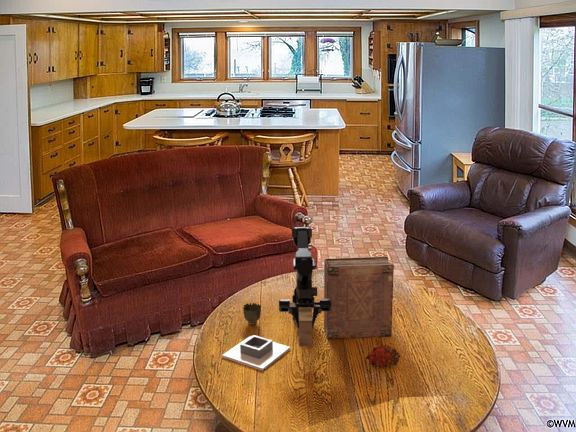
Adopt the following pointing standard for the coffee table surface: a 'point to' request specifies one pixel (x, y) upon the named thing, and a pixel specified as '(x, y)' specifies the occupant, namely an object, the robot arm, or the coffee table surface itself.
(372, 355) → the dragon fruit
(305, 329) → the walnut post
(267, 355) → the plate
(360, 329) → the book
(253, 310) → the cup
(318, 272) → the coffee table surface
